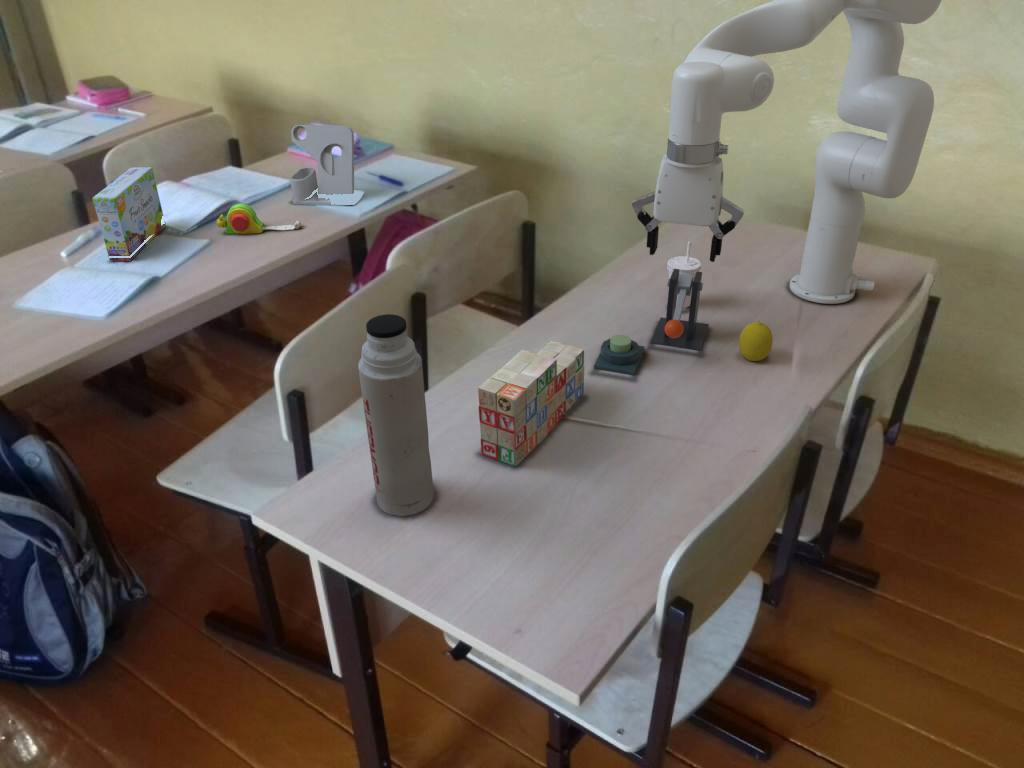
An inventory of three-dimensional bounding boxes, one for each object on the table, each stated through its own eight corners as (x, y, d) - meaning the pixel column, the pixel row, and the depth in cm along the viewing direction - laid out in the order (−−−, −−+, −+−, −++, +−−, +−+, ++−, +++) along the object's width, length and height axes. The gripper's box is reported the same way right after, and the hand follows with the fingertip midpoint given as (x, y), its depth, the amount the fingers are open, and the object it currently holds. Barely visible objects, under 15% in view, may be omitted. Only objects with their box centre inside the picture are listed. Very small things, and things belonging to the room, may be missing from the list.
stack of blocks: (551, 387, 139) (551, 323, 132) (584, 397, 136) (586, 332, 129) (480, 454, 124) (477, 386, 117) (515, 468, 121) (514, 398, 114)
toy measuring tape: (221, 227, 201) (215, 201, 197) (302, 222, 203) (297, 197, 199) (216, 237, 196) (210, 211, 192) (299, 233, 197) (294, 206, 194)
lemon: (769, 356, 146) (777, 316, 141) (767, 372, 141) (774, 331, 137) (738, 351, 147) (744, 312, 143) (734, 367, 143) (740, 327, 139)
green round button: (612, 342, 145) (613, 333, 144) (632, 345, 144) (633, 336, 143) (607, 352, 142) (608, 343, 141) (628, 355, 141) (628, 346, 140)
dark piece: (606, 348, 149) (606, 331, 147) (644, 354, 147) (645, 337, 145) (593, 373, 142) (594, 356, 140) (633, 380, 140) (634, 362, 138)
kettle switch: (681, 343, 141) (681, 331, 138) (662, 340, 142) (662, 329, 139) (695, 285, 147) (696, 273, 145) (677, 283, 148) (677, 271, 146)
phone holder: (289, 203, 214) (277, 134, 204) (304, 190, 222) (293, 122, 212) (353, 206, 211) (344, 136, 201) (366, 192, 220) (357, 124, 210)
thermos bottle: (375, 518, 112) (349, 340, 97) (378, 480, 119) (355, 308, 104) (433, 514, 113) (417, 336, 98) (433, 477, 119) (418, 305, 104)
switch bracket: (699, 355, 146) (707, 291, 140) (649, 348, 149) (655, 284, 142) (707, 329, 154) (715, 267, 147) (660, 322, 157) (665, 260, 150)
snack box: (133, 262, 185) (115, 197, 177) (109, 262, 185) (89, 197, 177) (168, 225, 203) (152, 165, 194) (145, 225, 203) (129, 165, 195)
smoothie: (695, 316, 159) (703, 249, 151) (662, 314, 160) (668, 247, 152) (696, 301, 164) (704, 235, 156) (663, 299, 165) (669, 233, 157)
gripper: (754, 147, 124) (740, 251, 134) (640, 139, 129) (635, 240, 139) (748, 163, 118) (734, 271, 128) (630, 153, 123) (625, 258, 133)
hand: (682, 255), depth 133 cm, fingers open, 9 cm apart
